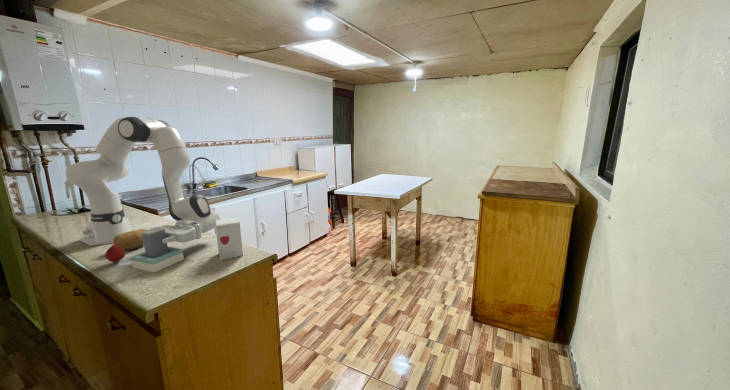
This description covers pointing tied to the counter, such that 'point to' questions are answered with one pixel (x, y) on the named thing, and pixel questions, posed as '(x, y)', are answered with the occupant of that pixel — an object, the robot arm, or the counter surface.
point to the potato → (130, 239)
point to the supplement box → (229, 238)
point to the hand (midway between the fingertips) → (153, 240)
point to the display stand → (157, 260)
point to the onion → (115, 253)
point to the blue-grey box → (154, 242)
